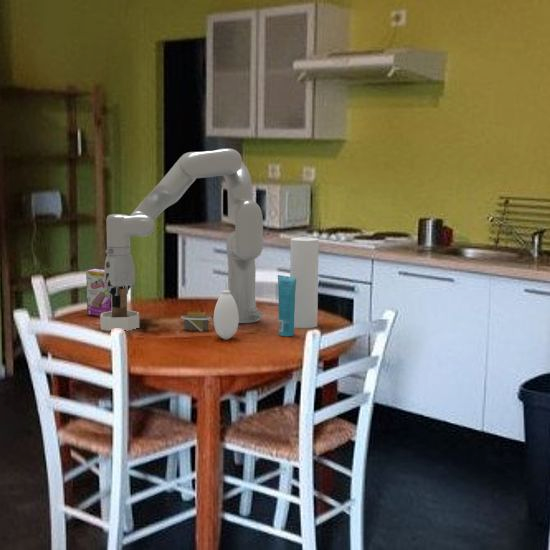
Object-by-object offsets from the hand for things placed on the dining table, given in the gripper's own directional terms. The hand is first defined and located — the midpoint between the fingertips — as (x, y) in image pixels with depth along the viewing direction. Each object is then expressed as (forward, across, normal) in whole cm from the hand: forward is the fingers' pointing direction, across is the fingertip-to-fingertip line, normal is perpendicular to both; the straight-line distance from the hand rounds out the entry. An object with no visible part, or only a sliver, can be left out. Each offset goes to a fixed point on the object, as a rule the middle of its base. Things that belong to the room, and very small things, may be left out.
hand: (119, 306), depth 269 cm
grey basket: (+8, +11, -24) cm, 27 cm away
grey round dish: (+7, 0, 0) cm, 7 cm away
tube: (+7, +24, -51) cm, 57 cm away
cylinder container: (+7, +40, -47) cm, 62 cm away
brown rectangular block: (+6, 0, 0) cm, 6 cm away
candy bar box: (+7, +10, +19) cm, 23 cm away
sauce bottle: (+7, +8, -39) cm, 41 cm away
